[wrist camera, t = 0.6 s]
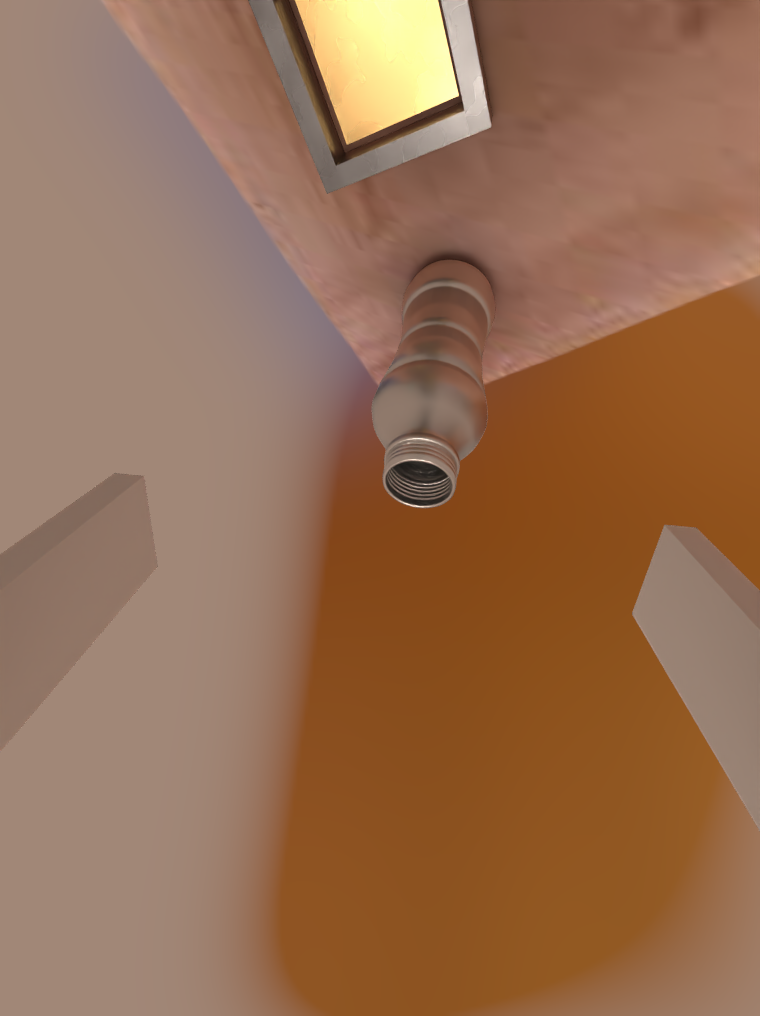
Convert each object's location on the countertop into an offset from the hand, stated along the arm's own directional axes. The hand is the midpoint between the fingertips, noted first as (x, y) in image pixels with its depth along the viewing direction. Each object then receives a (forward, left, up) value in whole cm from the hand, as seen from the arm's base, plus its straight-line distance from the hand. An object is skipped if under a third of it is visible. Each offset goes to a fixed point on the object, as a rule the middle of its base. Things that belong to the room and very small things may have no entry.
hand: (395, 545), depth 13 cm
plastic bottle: (+7, -3, -30) cm, 31 cm away
